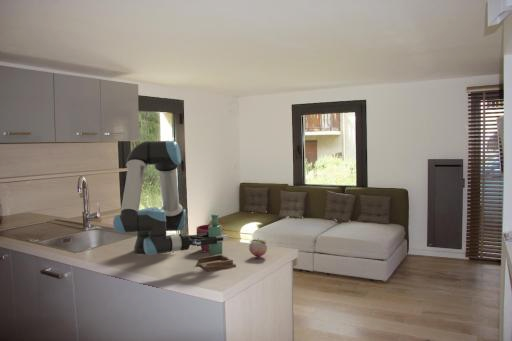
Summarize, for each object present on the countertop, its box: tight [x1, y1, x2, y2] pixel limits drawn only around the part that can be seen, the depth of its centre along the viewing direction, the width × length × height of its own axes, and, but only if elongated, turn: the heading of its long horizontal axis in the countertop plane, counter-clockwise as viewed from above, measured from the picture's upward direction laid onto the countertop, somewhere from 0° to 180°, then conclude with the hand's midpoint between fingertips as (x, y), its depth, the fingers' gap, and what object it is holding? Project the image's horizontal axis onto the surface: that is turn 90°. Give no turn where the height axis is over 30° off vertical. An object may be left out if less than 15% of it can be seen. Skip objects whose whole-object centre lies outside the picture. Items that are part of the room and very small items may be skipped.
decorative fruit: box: [248, 239, 268, 258], centre depth 205 cm, size 9×8×10 cm
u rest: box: [196, 253, 237, 272], centre depth 193 cm, size 14×14×3 cm
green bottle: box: [208, 213, 223, 256], centre depth 191 cm, size 6×6×18 cm
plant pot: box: [196, 223, 224, 253], centre depth 221 cm, size 14×14×13 cm
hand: (225, 236), depth 194 cm, fingers closed on green bottle, 6 cm apart
